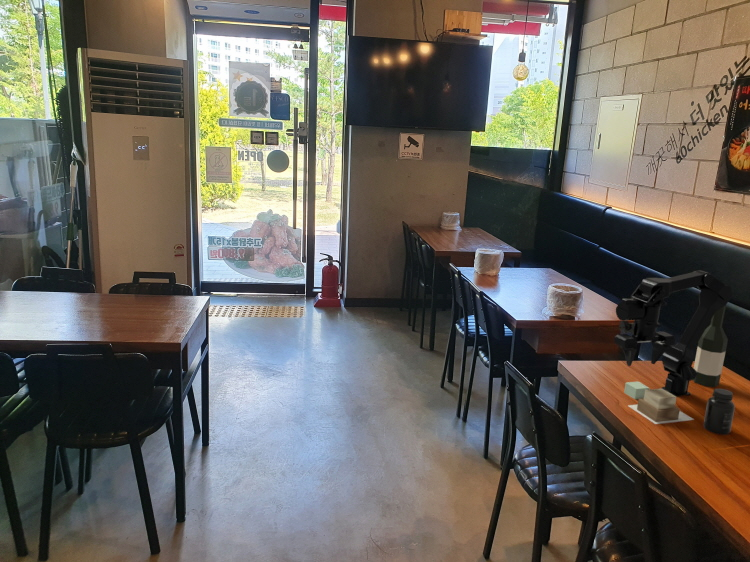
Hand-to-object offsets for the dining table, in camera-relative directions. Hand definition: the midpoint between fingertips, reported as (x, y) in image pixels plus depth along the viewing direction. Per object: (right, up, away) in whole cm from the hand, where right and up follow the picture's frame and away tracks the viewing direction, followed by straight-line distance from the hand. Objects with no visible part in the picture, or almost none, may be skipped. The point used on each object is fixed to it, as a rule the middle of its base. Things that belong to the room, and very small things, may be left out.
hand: (640, 364), depth 180 cm
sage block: (-1, -11, +3) cm, 11 cm away
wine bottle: (+30, -9, +16) cm, 35 cm away
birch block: (0, -10, -11) cm, 15 cm away
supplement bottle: (+13, -16, -18) cm, 28 cm away
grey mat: (+2, -14, -9) cm, 16 cm away
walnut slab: (0, -14, -10) cm, 17 cm away
